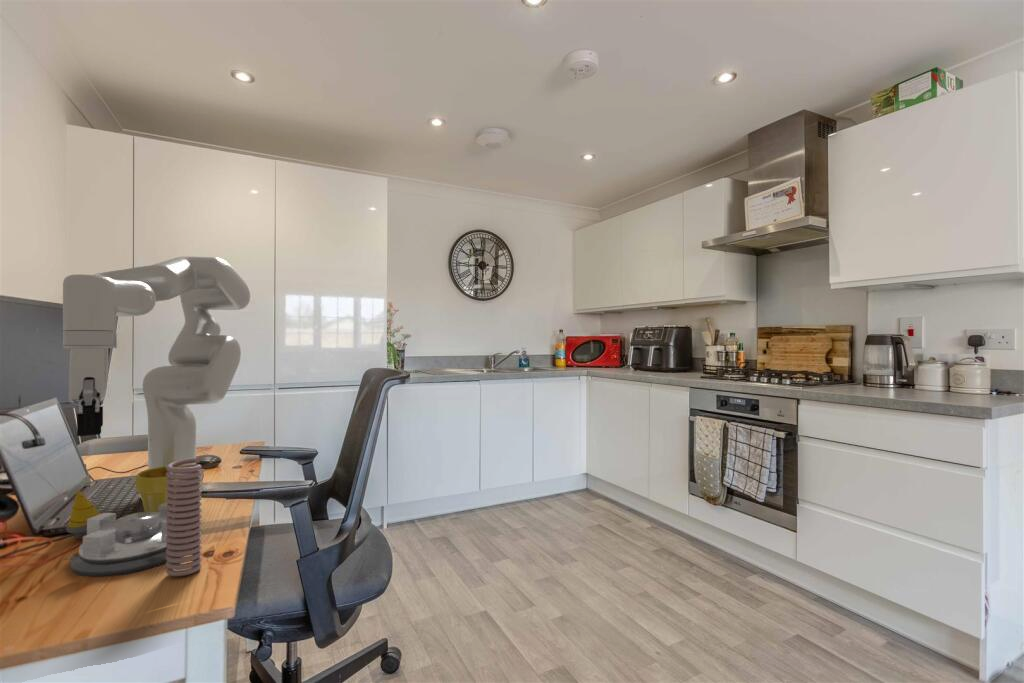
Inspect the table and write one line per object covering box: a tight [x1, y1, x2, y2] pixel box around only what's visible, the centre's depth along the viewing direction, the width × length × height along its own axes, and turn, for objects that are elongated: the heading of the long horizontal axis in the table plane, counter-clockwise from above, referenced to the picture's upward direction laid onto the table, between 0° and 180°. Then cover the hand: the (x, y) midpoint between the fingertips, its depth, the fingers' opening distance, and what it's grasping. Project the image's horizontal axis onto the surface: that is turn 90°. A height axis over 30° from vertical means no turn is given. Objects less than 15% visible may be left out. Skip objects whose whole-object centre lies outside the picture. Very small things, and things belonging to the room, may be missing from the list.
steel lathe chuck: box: [78, 502, 191, 563], centre depth 81 cm, size 15×15×4 cm
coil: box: [165, 457, 203, 577], centre depth 74 cm, size 5×5×18 cm
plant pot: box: [135, 465, 184, 512], centre depth 98 cm, size 10×10×10 cm
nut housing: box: [69, 543, 191, 578], centre depth 81 cm, size 17×17×2 cm
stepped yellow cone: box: [65, 489, 104, 540], centre depth 86 cm, size 5×5×10 cm
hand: (90, 431), depth 87 cm, fingers open, 9 cm apart
